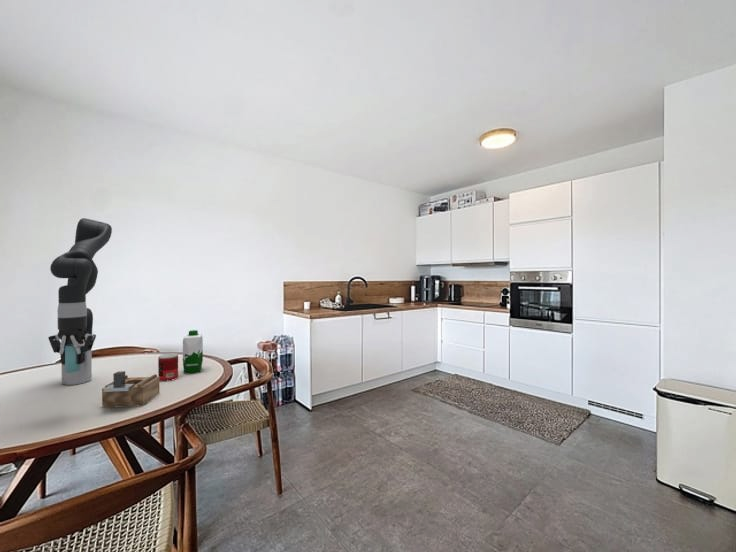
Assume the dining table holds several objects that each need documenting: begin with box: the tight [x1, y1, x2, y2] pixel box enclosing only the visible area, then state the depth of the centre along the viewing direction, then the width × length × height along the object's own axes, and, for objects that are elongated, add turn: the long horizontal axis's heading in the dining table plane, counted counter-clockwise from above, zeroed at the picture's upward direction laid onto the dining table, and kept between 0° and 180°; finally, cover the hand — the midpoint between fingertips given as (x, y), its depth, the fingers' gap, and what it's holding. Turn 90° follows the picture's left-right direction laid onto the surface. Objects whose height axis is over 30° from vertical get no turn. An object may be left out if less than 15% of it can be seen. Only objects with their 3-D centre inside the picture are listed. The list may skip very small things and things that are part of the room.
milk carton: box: [182, 329, 204, 375], centre depth 161 cm, size 9×9×20 cm
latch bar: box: [103, 371, 135, 392], centre depth 117 cm, size 8×4×6 cm, turn 98°
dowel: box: [65, 344, 81, 373], centre depth 112 cm, size 4×4×9 cm
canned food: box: [157, 352, 179, 382], centre depth 150 cm, size 8×8×11 cm
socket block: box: [101, 373, 160, 408], centre depth 125 cm, size 14×12×8 cm
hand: (72, 363), depth 112 cm, fingers closed on dowel, 4 cm apart
